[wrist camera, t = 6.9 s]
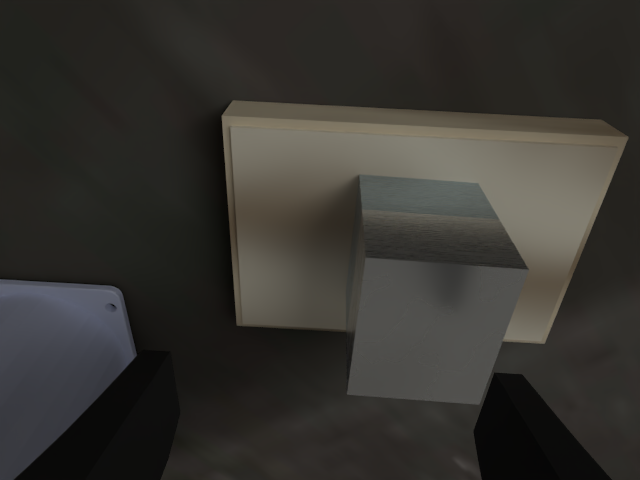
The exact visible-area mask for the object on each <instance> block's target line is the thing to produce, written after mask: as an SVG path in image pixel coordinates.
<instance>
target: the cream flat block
mask: <svg viewBox="0 0 640 480" xmlns="http://www.w3.org/2000/svg"><path fill="white" fill-rule="evenodd" d="M222 127H223V141H224V155H225V169H226V183H227V197H228V211H229V224H230V238H231V252H232V266H233V280H234V294H235V308H236V322H237V326H254V327H271V328H288V329H305V330H322V331H339V332H346V285H347V277H348V268H349V260H350V251H351V242H352V234H353V225H354V217H355V208H356V199H357V191H358V182H359V174H361V175H375V176H388V177H402V178H415V179H429V180H442V181H456V182H469V183H478V184H479V185H480V187H481V189H482V191H483V192H484V194H485V196H486V197H487V199H488V201H489V202H490V204H491V206H492V208H493V209H494V211H495V213H496V214H497V216H498V218H499V219H500V221H501V223H502V225H503V226H504V228H505V230H506V231H507V233H508V235H509V236H510V238H511V240H512V242H513V243H514V245H515V247H516V248H517V250H518V252H519V254H520V255H521V257H522V259H523V260H524V262H525V264H526V265H527V267H528V269H529V271H528V274H527V277H526V279H525V282H524V285H523V287H522V290H521V293H520V296H519V298H518V301H517V304H516V306H515V309H514V312H513V314H512V317H511V320H510V323H509V325H508V328H507V331H506V333H505V336H504V339H503V341H508V342H525V343H542V344H545V341H546V339H547V336H548V334H549V331H550V329H551V326H552V324H553V321H554V319H555V317H556V314H557V312H558V309H559V307H560V304H561V302H562V299H563V297H564V294H565V292H566V290H567V287H568V285H569V282H570V280H571V277H572V275H573V272H574V270H575V267H576V265H577V263H578V260H579V258H580V255H581V253H582V250H583V248H584V245H585V243H586V240H587V238H588V235H589V233H590V231H591V228H592V226H593V223H594V221H595V218H596V216H597V213H598V211H599V208H600V206H601V204H602V201H603V199H604V196H605V194H606V191H607V189H608V186H609V184H610V181H611V179H612V177H613V174H614V172H615V169H616V167H617V164H618V162H619V159H620V157H621V154H622V152H623V150H624V147H625V145H626V142H627V140H628V137H627V136H626V135H624V134H623V133H621V132H620V131H618V130H617V129H615V128H613V127H612V126H610V125H609V124H607V123H606V122H604V121H603V120H595V119H576V118H557V117H538V116H519V115H500V114H481V113H462V112H443V111H424V110H405V109H386V108H367V107H348V106H329V105H310V104H291V103H272V102H253V101H234V100H233V101H232V102H231V104H230V105H229V106H228V108H227V109H226V110H225V112H224V113H223V115H222Z"/></svg>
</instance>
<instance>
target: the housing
mask: <svg viewBox="0 0 640 480" xmlns="http://www.w3.org/2000/svg"><path fill="white" fill-rule="evenodd" d="M528 271H529V269H528V267H527V265H526V264H525V262H524V260H523V259H522V257H521V255H520V254H519V252H518V250H517V248H516V247H515V245H514V243H513V242H512V240H511V238H510V236H509V235H508V233H507V231H506V230H505V228H504V226H503V225H502V223H501V221H500V219H499V218H498V216H497V214H496V213H495V211H494V209H493V208H492V206H491V204H490V202H489V201H488V199H487V197H486V196H485V194H484V192H483V191H482V189H481V187H480V185H479V184H478V183H469V182H456V181H442V180H429V179H415V178H402V177H388V176H375V175H361V174H359V182H358V191H357V199H356V208H355V217H354V225H353V234H352V242H351V251H350V260H349V268H348V277H347V285H346V361H347V395H359V396H373V397H386V398H399V399H412V400H426V401H439V402H452V403H466V404H480V401H481V398H482V396H483V393H484V390H485V387H486V385H487V382H488V379H489V377H490V374H491V371H492V369H493V366H494V363H495V360H496V358H497V355H498V352H499V350H500V347H501V344H502V342H503V339H504V336H505V333H506V331H507V328H508V325H509V323H510V320H511V317H512V314H513V312H514V309H515V306H516V304H517V301H518V298H519V296H520V293H521V290H522V287H523V285H524V282H525V279H526V277H527V274H528Z"/></svg>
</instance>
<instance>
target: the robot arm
mask: <svg viewBox="0 0 640 480" xmlns="http://www.w3.org/2000/svg"><path fill="white" fill-rule="evenodd" d="M110 304H113V305H115V306H116V307H115V306H112V305H110ZM179 415H180V408H179V402H178V396H177V390H176V384H175V377H174V371H173V365H172V359H171V353H170V352H165V351H149V350H143V351H141V352H140V353H139V354H138V355H137V354H136V349H135V345H134V341H133V336H132V332H131V328H130V324H129V319H128V315H127V311H126V307H125V302H124V298H123V294H122V292H121V291H120V290H119V289H118V288H116V287H114V286H107V285H90V284H73V283H55V282H38V281H21V280H4V279H0V480H160V479H161V477H162V474H163V471H164V469H165V466H166V463H167V460H168V458H169V454H170V450H171V446H172V443H173V439H174V435H175V431H176V427H177V423H178V419H179ZM474 437H475V444H476V450H477V456H478V461H479V466H480V472H481V477H482V480H612V479H611V478H610V477H609V476H608V475H607V474H606V473H605V472H604V470H603V469H602V468H601V467H600V466H599V465H598V464H597V462H596V461H595V460H594V459H593V458H592V457H591V456H590V455H589V453H588V452H587V451H586V450H585V449H584V448H583V447H582V445H581V444H580V443H579V442H578V441H577V440H576V438H575V437H574V436H573V435H572V434H571V433H570V431H569V430H568V429H567V428H566V427H565V425H564V424H563V423H562V422H561V421H560V419H559V418H558V417H557V416H556V415H555V413H554V412H553V411H552V410H551V409H550V407H549V406H548V405H547V404H546V403H545V401H544V400H543V399H542V398H541V396H540V395H539V394H538V393H537V392H536V390H535V389H534V388H533V387H532V386H531V384H530V383H529V382H528V381H527V380H526V378H525V377H524V376H523V375H522V374H507V373H494V376H493V378H492V381H491V384H490V387H489V389H488V392H487V395H486V398H485V401H484V403H483V406H482V409H481V412H480V415H479V417H478V420H477V423H476V426H475V429H474Z"/></svg>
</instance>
